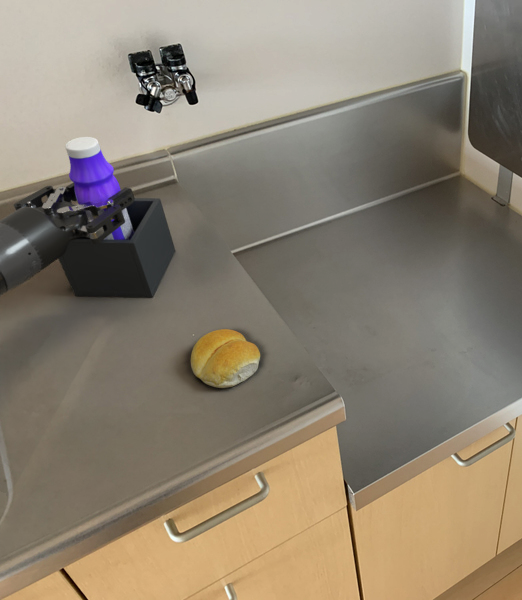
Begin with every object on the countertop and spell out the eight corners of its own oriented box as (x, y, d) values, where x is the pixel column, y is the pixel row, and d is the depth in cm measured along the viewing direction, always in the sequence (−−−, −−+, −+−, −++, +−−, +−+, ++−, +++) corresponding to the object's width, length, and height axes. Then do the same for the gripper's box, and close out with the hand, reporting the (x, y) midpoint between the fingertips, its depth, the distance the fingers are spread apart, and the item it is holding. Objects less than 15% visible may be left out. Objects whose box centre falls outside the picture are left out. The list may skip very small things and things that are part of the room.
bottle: (99, 239, 94) (60, 134, 83) (138, 233, 96) (104, 128, 84) (97, 267, 89) (54, 158, 78) (138, 260, 90) (102, 152, 79)
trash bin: (75, 296, 91) (50, 241, 84) (105, 250, 100) (84, 197, 93) (152, 297, 91) (133, 243, 84) (175, 251, 100) (160, 198, 93)
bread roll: (231, 332, 85) (226, 311, 83) (271, 365, 81) (267, 344, 78) (179, 363, 81) (172, 342, 78) (217, 400, 76) (211, 379, 74)
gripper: (46, 239, 71) (143, 174, 83) (-41, 211, 76) (63, 153, 87) (68, 288, 76) (157, 221, 88) (-15, 260, 81) (80, 199, 92)
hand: (110, 187), depth 88 cm, fingers closed on bottle, 7 cm apart
